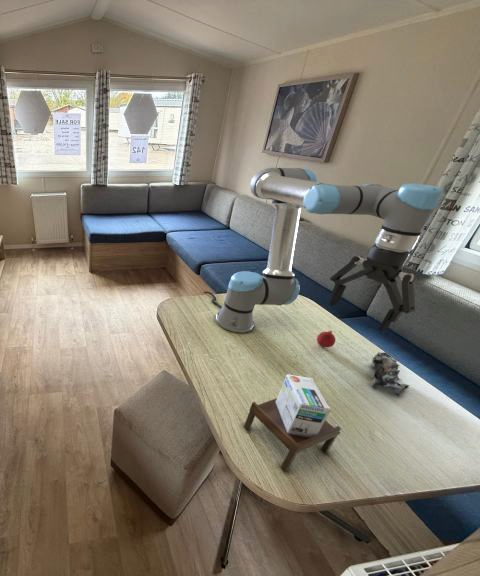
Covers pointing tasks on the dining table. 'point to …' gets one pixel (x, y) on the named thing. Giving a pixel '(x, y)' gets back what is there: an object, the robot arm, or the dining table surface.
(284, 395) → the light bulb box
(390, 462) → the dining table surface
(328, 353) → the dining table surface
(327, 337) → the onion
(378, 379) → the grey rugged figurine
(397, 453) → the dining table surface
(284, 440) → the wooden step stool
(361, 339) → the dining table surface
